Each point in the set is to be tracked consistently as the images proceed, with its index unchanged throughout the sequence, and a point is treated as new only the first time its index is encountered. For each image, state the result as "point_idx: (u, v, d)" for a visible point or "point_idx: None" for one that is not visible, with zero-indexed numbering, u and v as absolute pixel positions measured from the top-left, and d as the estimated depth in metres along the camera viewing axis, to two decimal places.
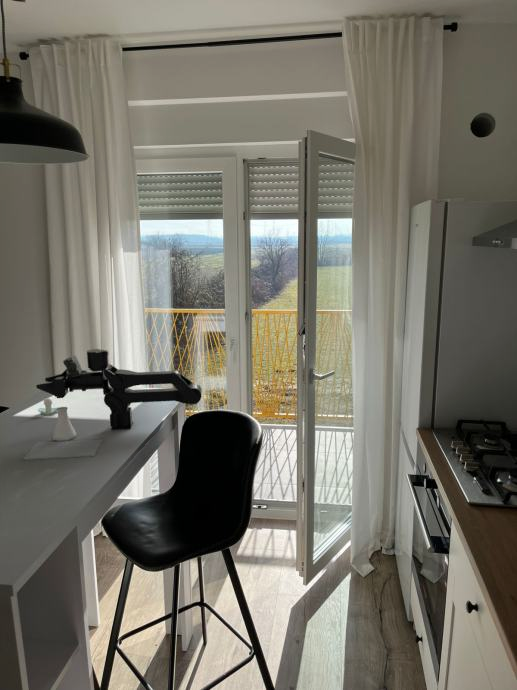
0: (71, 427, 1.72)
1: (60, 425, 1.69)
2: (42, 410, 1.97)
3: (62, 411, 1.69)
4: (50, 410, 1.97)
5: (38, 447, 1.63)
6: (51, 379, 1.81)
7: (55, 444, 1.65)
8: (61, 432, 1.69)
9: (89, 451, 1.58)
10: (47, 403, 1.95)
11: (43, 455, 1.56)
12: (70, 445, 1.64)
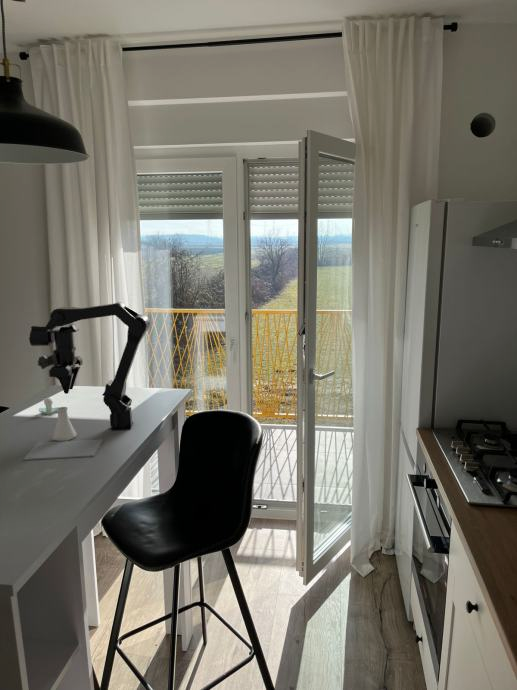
0: (71, 427, 1.72)
1: (60, 425, 1.69)
2: (42, 410, 1.98)
3: (62, 411, 1.69)
4: (50, 410, 1.97)
5: (38, 447, 1.63)
6: None
7: (55, 444, 1.65)
8: (61, 432, 1.69)
9: (89, 451, 1.58)
10: (47, 403, 1.96)
11: (43, 455, 1.56)
12: (70, 445, 1.64)
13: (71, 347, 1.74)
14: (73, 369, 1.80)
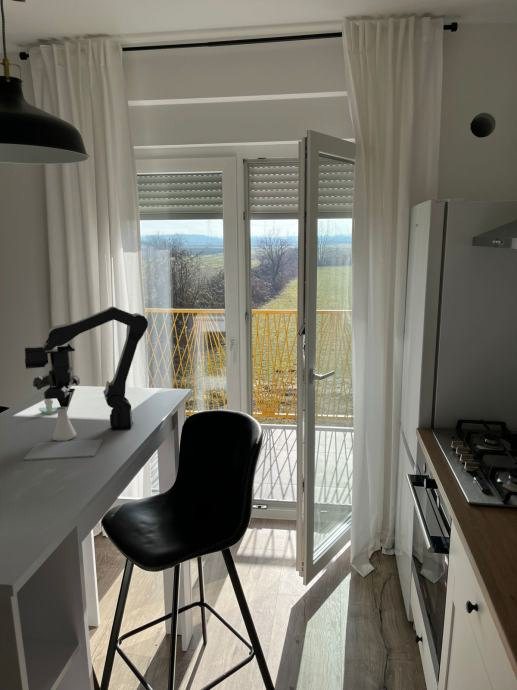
0: (71, 426, 1.72)
1: (60, 424, 1.69)
2: (43, 409, 1.98)
3: (62, 411, 1.69)
4: (51, 409, 1.98)
5: (38, 447, 1.63)
6: None
7: (55, 444, 1.65)
8: (61, 432, 1.69)
9: (89, 451, 1.58)
10: (48, 402, 1.96)
11: (43, 455, 1.56)
12: (70, 445, 1.64)
13: (67, 367, 1.69)
14: None
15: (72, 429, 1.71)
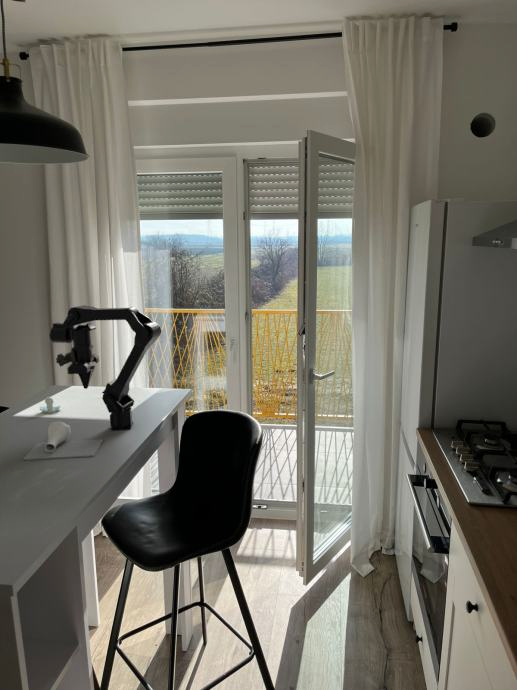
0: (64, 434, 1.64)
1: None
2: (43, 409, 1.99)
3: None
4: (51, 409, 1.98)
5: (38, 447, 1.63)
6: None
7: None
8: None
9: (89, 451, 1.58)
10: (48, 402, 1.97)
11: (43, 455, 1.56)
12: (70, 445, 1.64)
13: (89, 345, 1.78)
14: None
15: (65, 434, 1.65)
